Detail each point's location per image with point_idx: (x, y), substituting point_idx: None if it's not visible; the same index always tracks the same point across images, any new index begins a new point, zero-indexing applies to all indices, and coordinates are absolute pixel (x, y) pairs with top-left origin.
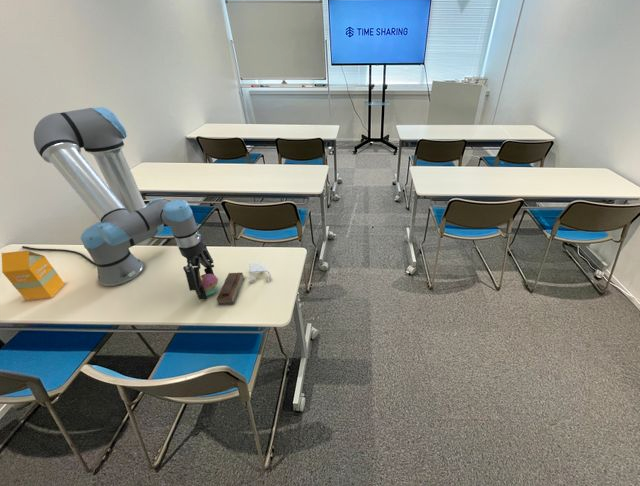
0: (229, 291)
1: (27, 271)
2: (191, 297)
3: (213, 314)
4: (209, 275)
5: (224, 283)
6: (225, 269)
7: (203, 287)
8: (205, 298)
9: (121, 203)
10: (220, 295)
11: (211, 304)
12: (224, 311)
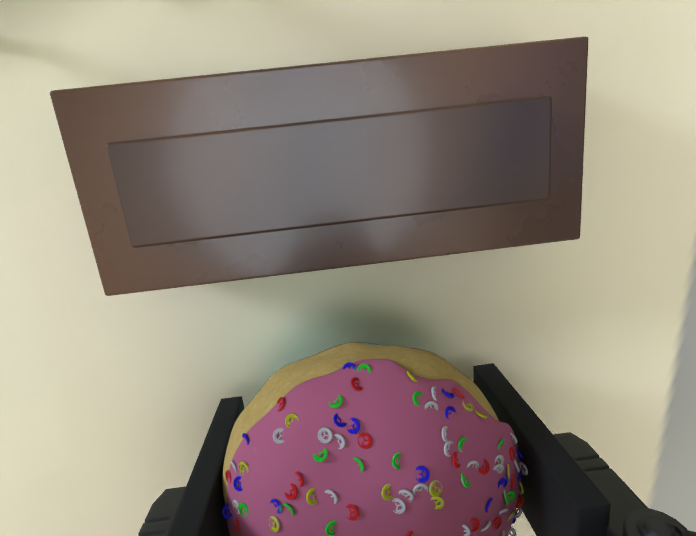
0: (504, 100)
1: None
2: None
3: (642, 218)
4: (311, 513)
5: (314, 262)
6: (11, 391)
7: (510, 466)
8: (497, 375)
9: None
10: (529, 215)
11: (517, 295)
12: (618, 123)
